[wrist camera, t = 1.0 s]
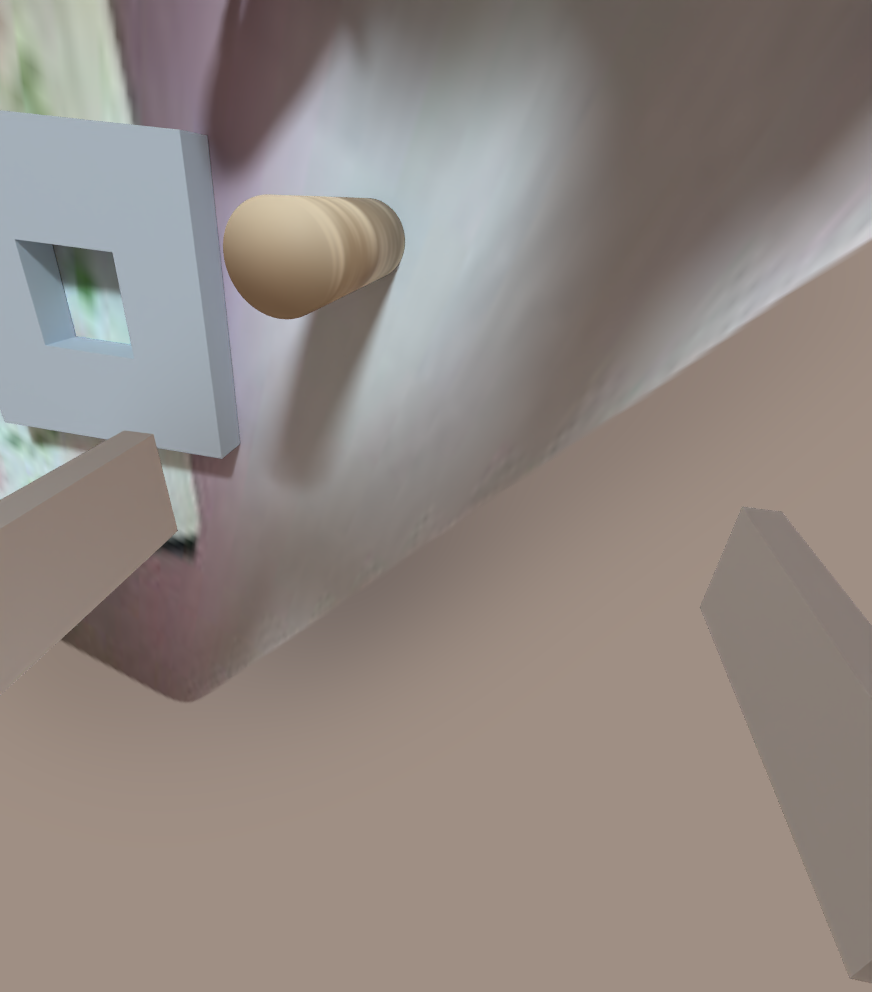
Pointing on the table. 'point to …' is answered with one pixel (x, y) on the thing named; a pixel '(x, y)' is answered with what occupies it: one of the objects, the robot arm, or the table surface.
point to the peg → (309, 250)
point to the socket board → (141, 275)
